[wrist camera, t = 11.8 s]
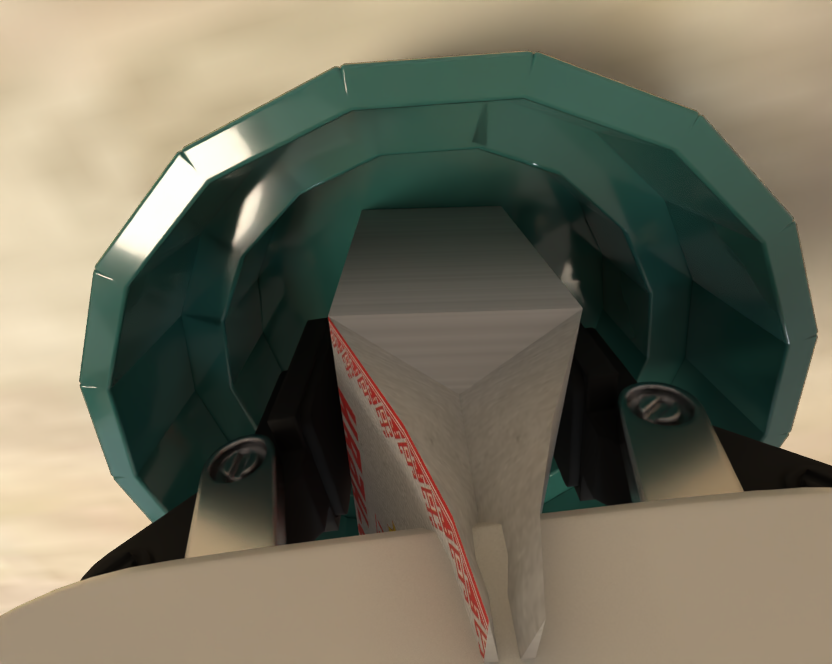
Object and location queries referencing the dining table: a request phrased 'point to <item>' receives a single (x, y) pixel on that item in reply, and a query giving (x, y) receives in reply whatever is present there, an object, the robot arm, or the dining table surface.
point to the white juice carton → (455, 390)
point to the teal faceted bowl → (439, 188)
